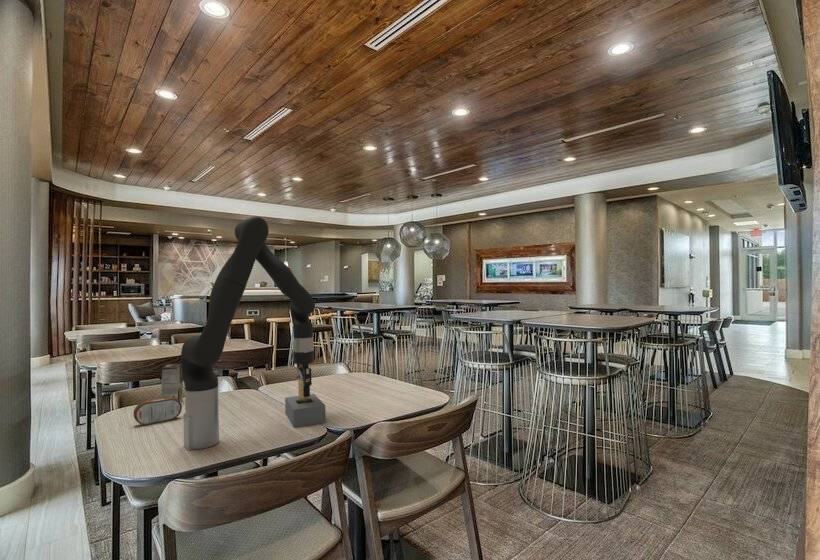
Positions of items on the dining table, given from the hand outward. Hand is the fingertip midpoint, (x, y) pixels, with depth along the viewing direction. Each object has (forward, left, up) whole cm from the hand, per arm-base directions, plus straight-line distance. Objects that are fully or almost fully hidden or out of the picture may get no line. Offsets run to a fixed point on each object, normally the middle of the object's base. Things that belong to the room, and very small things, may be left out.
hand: (304, 394), depth 154 cm
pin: (0, 0, -7) cm, 7 cm away
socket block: (0, 0, -9) cm, 9 cm away
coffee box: (-32, +57, -9) cm, 66 cm away
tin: (-41, +33, -9) cm, 53 cm away
